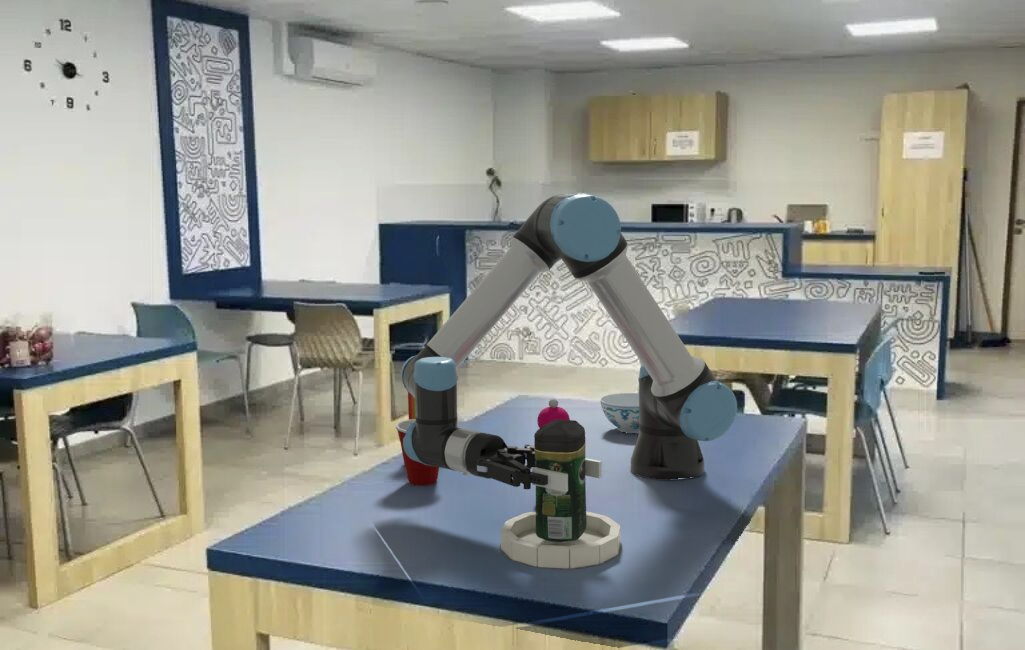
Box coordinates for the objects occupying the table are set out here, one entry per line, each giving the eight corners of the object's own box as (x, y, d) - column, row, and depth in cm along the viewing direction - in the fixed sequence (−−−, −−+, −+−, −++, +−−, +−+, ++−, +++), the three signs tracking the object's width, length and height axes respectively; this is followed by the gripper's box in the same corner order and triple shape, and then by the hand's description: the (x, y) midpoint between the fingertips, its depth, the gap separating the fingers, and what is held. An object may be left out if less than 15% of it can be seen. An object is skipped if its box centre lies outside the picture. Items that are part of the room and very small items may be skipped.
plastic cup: (442, 491, 192) (441, 431, 190) (389, 488, 194) (387, 429, 193) (456, 475, 203) (455, 418, 201) (406, 473, 205) (404, 417, 203)
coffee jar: (544, 522, 166) (543, 414, 163) (590, 526, 164) (590, 417, 161) (529, 542, 156) (528, 428, 154) (578, 546, 154) (577, 431, 152)
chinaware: (666, 437, 231) (666, 405, 230) (602, 438, 231) (602, 406, 230) (657, 422, 246) (658, 392, 245) (598, 423, 246) (598, 393, 245)
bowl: (589, 520, 172) (589, 504, 172) (639, 557, 155) (640, 539, 154) (487, 535, 166) (486, 517, 165) (527, 575, 148) (527, 556, 148)
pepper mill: (578, 499, 186) (577, 395, 183) (567, 511, 179) (566, 403, 176) (541, 496, 188) (540, 393, 185) (530, 507, 181) (528, 401, 179)
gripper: (516, 461, 179) (621, 483, 164) (435, 489, 162) (542, 516, 148) (516, 421, 178) (621, 439, 163) (434, 445, 161) (542, 468, 147)
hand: (583, 476), depth 156 cm, fingers closed on coffee jar, 8 cm apart
